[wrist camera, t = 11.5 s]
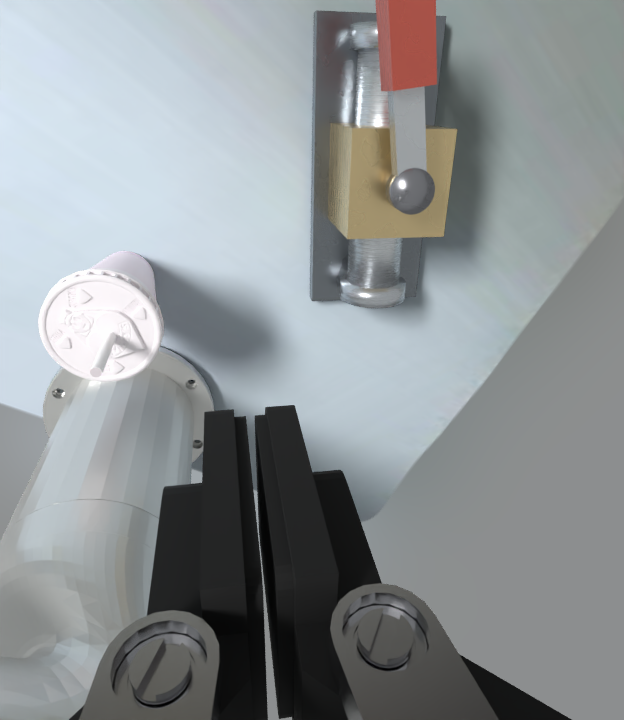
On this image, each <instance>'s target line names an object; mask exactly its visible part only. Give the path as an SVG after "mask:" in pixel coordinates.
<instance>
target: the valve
mask: <svg viewBox="0 0 624 720" xmlns="http://www.w3.org/2000/svg"><path fill="white" fill-rule="evenodd" d="M445 23H446V16H436V53H437V84H436V85H430V86H424V88H425V126H426V164H427V172H428V173H429V174H430V175H431V177H432V178H433V181H434V184H435V193H434V197H433V200H432V202H431V203H430V205H429V206H428V207H427V208H426V209H425V210H424V211H422V212H420V213H418V214H413V215H409V214H405V213H402V212H401V211H399V210H397V209H396V208H394V207H393V206H392V205H391V204H390V203H389V202H388V200H387V197H386V183H387V181H388V179H389V177H390V175H391V174H392V164H391V146H390V128H389V110H388V92H387V91H381V81H380V64H379V48H378V31H377V15H376V13H359V12H336V11H316V12H315V13H314V49H313V117H312V186H311V254H310V298H311V300H312V301H324V300H343V301H344V302H346V303H348V304H351V305H354V306H359V307H365V308H388V307H393V306H397V305H399V304H401V303H402V302H403V301H404V298H405V297H416V289H417V280H418V271H419V262H420V252H421V243H422V237H444V230H445V222H446V214H447V206H448V198H449V190H450V183H451V175H452V167H453V159H454V151H455V143H456V135H457V129H453V128H446V127H439V126H434V124H435V115H436V105H437V96H438V87H439V78H440V69H441V59H442V50H443V41H444V32H445Z"/></svg>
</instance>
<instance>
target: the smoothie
mask: <svg viewBox="0 0 624 720" xmlns="http://www.w3.org/2000/svg"><path fill="white" fill-rule="evenodd" d="M39 332H40V336H41V340H42V342H43V345H44V346H45V348H46V350H47V351H48V353H49V354H50V356H51V357H52V358H53V359H54V360H55V361H56V362H57V363H58V364H59V365H60V366H61V367H63V368H64V369H66V370H67V371H69V372H70V373H72V374H74V375H76V376H79V377H81V378H85V379H88V380H92V381H99V382H113V381H120V380H124V379H127V378H130V377H132V376H134V375H136V374H138V373H140V372H141V371H143V370H144V369H145V368H146V367H147V366H148V365H149V364H150V363H151V362H152V361H153V359H154V358H155V356H156V355H157V353H158V350H159V348H160V345H161V342H162V338H163V335H164V320H163V317H162V314H161V310H160V307H159V305H158V304H157V302H156V291H155V279H154V273H153V270H152V267H151V266H150V264H149V263H148V262H147V261H146V260H145V259H144V258H143V257H142V256H140V255H138V254H136V253H133V252H129V251H119V252H115V253H113V254H111V255H109V256H107V257H106V258H104V259H103V260H101V261H100V262H98V263H97V264H95V265H94V266H92V267H91V268H89V269H88V270H83V271H78V272H75V273H73V274H71V275H69V276H67V277H65V278H63V279H61V280H60V281H59V282H58V283H57V284H56V285H55V286H54V287H53V288H52V289H51V290H50V292H49V294H48V295H47V297H46V299H45V301H44V302H43V305H42V307H41V310H40V314H39Z"/></svg>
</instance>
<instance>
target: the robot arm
mask: <svg viewBox="0 0 624 720" xmlns="http://www.w3.org/2000/svg"><path fill="white" fill-rule="evenodd" d="M189 380H195V381H193V382H191V381H189ZM60 389H62V390H60ZM43 421H44V425H45V428H46V433H47V435H48V436H49V440H48V442H47V445H46V447H45V449H44V451H43V453H42V455H41V458H40V459H39V461H38V464H37V465H36V468H35V470H34V472H33V474H32V476H31V478H30V480H29V482H28V484H27V486H26V488H25V491H24V493H23V495H22V497H21V499H20V501H19V503H18V505H17V507H16V509H15V511H14V513H13V516H12V518H11V520H10V522H9V524H8V526H7V528H6V530H5V532H4V535H3V537H2V539H1V541H0V720H268V715H267V691H266V690H267V689H266V662H265V634H264V610H263V609H264V608H263V586H262V572H261V561H260V551H259V541H258V533H257V522H256V512H255V503H254V493H253V483H252V473H251V463H250V453H249V444H248V434H247V424H246V416H244V417H234V410H221V411H214V402H213V399H212V395H211V392H210V389H209V387H208V385H207V384H206V382H205V380H204V378H203V377H202V376H201V374H200V373H199V372H198V371H197V370H196V369H195V368H194V366H193V365H191V364H190V363H189V362H187V361H186V360H185V359H184V358H182V357H181V356H179V355H177V354H176V353H174V352H172V351H170V350H168V349H166V348H163V347H160V348H159V350H158V353H157V355H156V356H155V358H154V359H153V361H152V362H151V363H150V364H149V365H148V366H147V367H146V368H145V369H144V370H143V371H141V372H140V373H138V374H136V375H134V376H132V377H130V378H127V379H124V380H120V381H113V382H99V381H92V380H88V379H85V378H81V377H79V376H76V375H74V374H72V373H70V372H69V371H67V370H66V369H64V368H63V367H61V368H60V370H59V371H58V372H57V374H56V375H55V377H54V378H53V380H52V382H51V383H50V385H49V387H48V389H47V392H46V395H45V400H44V404H43ZM255 440H256V466H257V492H258V515H259V516H258V517H259V535H260V546H261V556H262V565H263V575H264V584H265V594H266V603H267V613H268V622H269V631H270V641H271V650H272V660H273V669H274V679H275V688H276V698H277V707H278V715H279V719H281V718H287V717H292V720H571V719H569V718H568V717H566V716H564V715H563V714H561V713H559V712H557V711H556V710H554V709H552V708H551V707H549V706H547V705H545V704H544V703H542V702H540V701H539V700H537V699H535V698H533V697H532V696H530V695H528V694H526V693H525V692H523V691H521V690H520V689H518V688H516V687H515V686H513V685H511V684H509V683H508V682H506V681H504V680H503V679H500V678H499V677H497V676H496V675H494V674H492V673H490V672H489V671H487V670H485V669H484V668H482V667H480V666H478V665H477V664H475V663H473V662H471V661H470V660H468V659H466V658H465V657H463V656H461V655H459V653H458V652H457V650H456V648H455V647H454V645H453V643H452V642H451V640H450V638H449V637H448V635H447V634H446V632H445V630H444V629H443V627H442V625H441V624H440V622H439V620H438V619H437V617H436V615H435V614H434V613H433V611H432V610H431V609H430V608H429V607H428V605H427V604H426V603H425V602H424V601H423V600H421V599H420V598H419V597H417V596H416V595H415V594H413V593H412V592H410V591H408V590H405V589H403V588H400V587H398V586H394V585H388V584H382V583H381V580H380V577H379V574H378V571H377V568H376V565H375V562H374V560H373V557H372V554H371V551H370V548H369V545H368V542H367V539H366V536H365V533H364V531H363V528H362V525H361V522H360V519H359V516H358V513H357V510H356V507H355V505H354V502H353V499H352V496H351V493H350V490H349V487H348V484H347V481H346V479H345V476H344V474H343V472H342V471H341V470H334V471H323V472H312V470H311V466H310V462H309V458H308V454H307V451H306V447H305V443H304V439H303V435H302V432H301V428H300V424H299V420H298V416H297V413H296V409H295V406H294V405H289V406H275V407H266V408H265V415H257V416H255ZM202 452H203V478H202V480H203V481H202V483H197V484H191V468H192V463H193V462H194V461H196V460H197V459H198V457H199V456H200V455H201V454H202Z"/></svg>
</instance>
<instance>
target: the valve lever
mask: <svg viewBox="0 0 624 720" xmlns="http://www.w3.org/2000/svg"><path fill="white" fill-rule="evenodd" d="M376 15H377V31H378V48H379V64H380V81H381V91H387V92H388V110H389V128H390V146H391V164H392V174H391V175H390V177H389V179H388V181H387V183H386V197H387V200H388V202H389V203H390V204H391V205H392V206H393V207H394V208H396V209H397V210H399V211H401V212H402V213H405V214H409V215H413V214H418V213H420V212H422V211H424V210H425V209H426V208H427V207H428V206H429V205H430V203H431V202H432V200H433V197H434V193H435V184H434V181H433V178H432V177H431V175H430V174H429V173H428V172H427V164H426V126H425V88H424V86H430V85H436V84H437V53H436V0H376Z"/></svg>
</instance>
